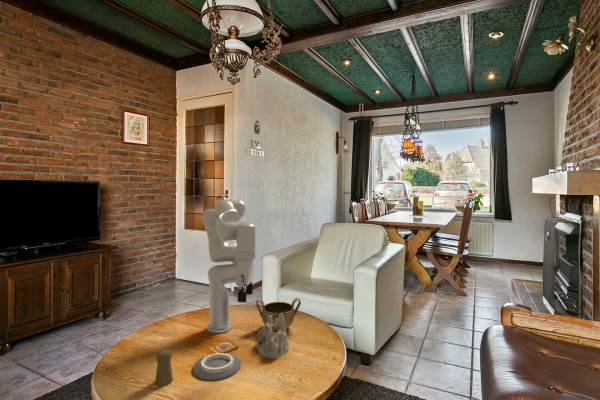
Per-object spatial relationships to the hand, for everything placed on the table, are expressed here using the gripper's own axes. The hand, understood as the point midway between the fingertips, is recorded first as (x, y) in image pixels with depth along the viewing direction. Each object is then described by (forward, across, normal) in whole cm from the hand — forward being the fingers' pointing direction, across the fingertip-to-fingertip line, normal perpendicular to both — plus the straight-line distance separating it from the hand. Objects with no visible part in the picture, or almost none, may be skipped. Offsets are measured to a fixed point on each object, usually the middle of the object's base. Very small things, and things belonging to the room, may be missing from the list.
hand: (245, 297), depth 130 cm
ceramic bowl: (+26, -35, +8) cm, 44 cm away
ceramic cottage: (+27, -14, +8) cm, 31 cm away
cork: (+27, +15, -26) cm, 40 cm away
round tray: (+26, +4, -10) cm, 28 cm away
